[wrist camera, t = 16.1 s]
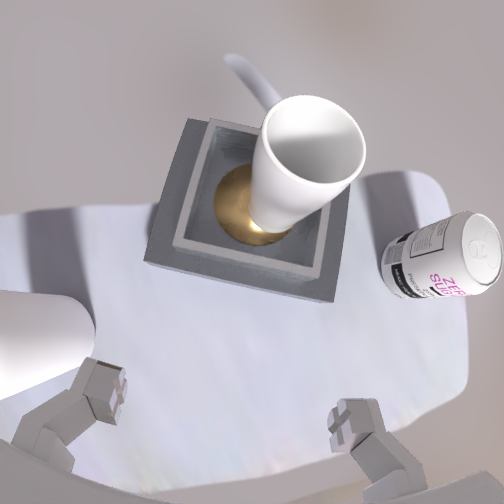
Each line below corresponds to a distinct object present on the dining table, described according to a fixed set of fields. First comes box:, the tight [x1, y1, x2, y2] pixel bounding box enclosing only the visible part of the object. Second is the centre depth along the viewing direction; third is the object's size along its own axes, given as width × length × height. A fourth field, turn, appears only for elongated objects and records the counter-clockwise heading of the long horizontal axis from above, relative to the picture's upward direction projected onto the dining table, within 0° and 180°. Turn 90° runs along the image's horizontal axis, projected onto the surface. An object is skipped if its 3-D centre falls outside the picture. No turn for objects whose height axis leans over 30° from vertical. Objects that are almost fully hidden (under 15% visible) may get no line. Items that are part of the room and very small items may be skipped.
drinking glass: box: [248, 95, 366, 233], centre depth 24 cm, size 7×7×15 cm
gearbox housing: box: [143, 118, 350, 303], centre depth 32 cm, size 20×17×8 cm
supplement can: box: [381, 211, 503, 299], centre depth 30 cm, size 8×8×15 cm
